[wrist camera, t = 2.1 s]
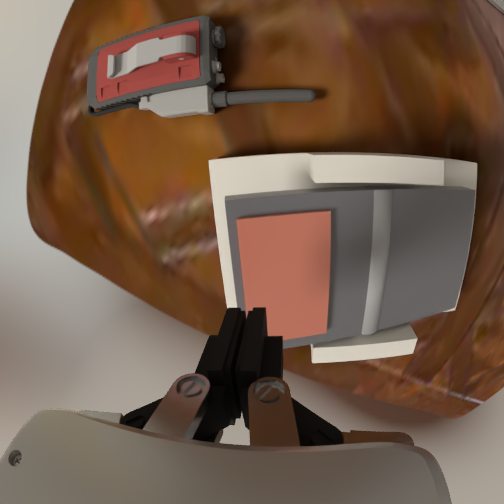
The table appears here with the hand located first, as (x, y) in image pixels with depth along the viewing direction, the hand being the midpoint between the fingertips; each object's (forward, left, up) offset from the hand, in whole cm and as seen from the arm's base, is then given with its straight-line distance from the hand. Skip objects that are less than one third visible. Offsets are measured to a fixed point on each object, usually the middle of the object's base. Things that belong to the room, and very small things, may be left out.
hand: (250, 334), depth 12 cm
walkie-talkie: (+5, -16, -13) cm, 21 cm away
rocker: (-7, 0, -6) cm, 10 cm away
